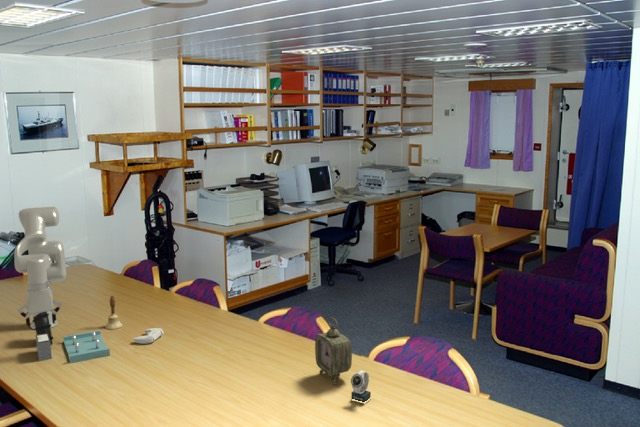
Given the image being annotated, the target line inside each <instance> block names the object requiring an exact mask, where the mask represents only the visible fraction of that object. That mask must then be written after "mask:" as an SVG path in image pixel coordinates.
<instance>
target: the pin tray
mask: <svg viewBox="0 0 640 427" xmlns="http://www.w3.org/2000/svg"><path fill="white" fill-rule="evenodd" d="M62 337H63V344H64V347H65V350H66V353H67V355H68V356H67V357H68V360H69V363H70V364H73V363H78V362H83V361H87V360H94V359H98V358H105V357H108V356H111V353H110V352H111V351H110V350H111V349H110V347H107V344H106V343H105V340H104V338H103V337H102V334H101V330H100V329H98V330H91V331H87V332H82V333H75V334H70V335H64V336H62Z"/></svg>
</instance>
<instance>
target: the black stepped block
mask: <svg viewBox="0 0 640 427" xmlns="http://www.w3.org/2000/svg"><path fill="white" fill-rule="evenodd" d="M48 315H49V314H47V311H46V312H42V313H39V314H38V315H36V316H35V317H33V316H32V319H34V320H32V323H35V329H34V330H35V332H36V333H35V335H37V334H43V333H48V335H49V338H50V343H51V346H52V345H53V340H54V337H53V335H52V329H51V328H50V327H51V324H50V323H49V318H48Z"/></svg>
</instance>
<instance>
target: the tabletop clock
mask: <svg viewBox="0 0 640 427" xmlns="http://www.w3.org/2000/svg"><path fill="white" fill-rule="evenodd" d="M330 320H333V321H334V322H335V323H336V327H335V324H331V322H330ZM327 322H328V325H329V327H330V328H329V329H328V330H327V331H326V332H324V333H319V334H318V333H317V334H315V335H316V336H315V339H314V340H315V341H314V342H315V344H314V350H315V352H314V354H315V363H316V365H317V366H318V368H319V369H320V370H319V374H320V375H322V373H323V374H324V373H325V374H326V375H329V376H333V377H334V380H332V384H333V385H336V384H337V383H338V381H337V377H338V376H339V377H340V376H341V374H342V373H347V372H349V371H350V369H351V368H352V364H353V363H352V362H353V361H352V360H353V359H352V357H353V351H352V350H353V348H352V342H351V339H350V338H348V337H347V336H345V335H344V334H343V333H340V332H339V329H338V328H339V323H338V320H337V319H336V318H334V317H329V318H328V320H327Z"/></svg>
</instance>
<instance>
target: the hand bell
mask: <svg viewBox="0 0 640 427" xmlns="http://www.w3.org/2000/svg"><path fill="white" fill-rule="evenodd" d="M109 305H110V308H111V310H110V312H111V313H110V315H108V319H107V323H106V325H105V326H104V329H106V330H118V329H120V328H122V327H123V323H121V322H120V319H119V316H118V314H116V313H115V312H116V310H115V307H116V298H115V297H114V295H110V298H109Z"/></svg>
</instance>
